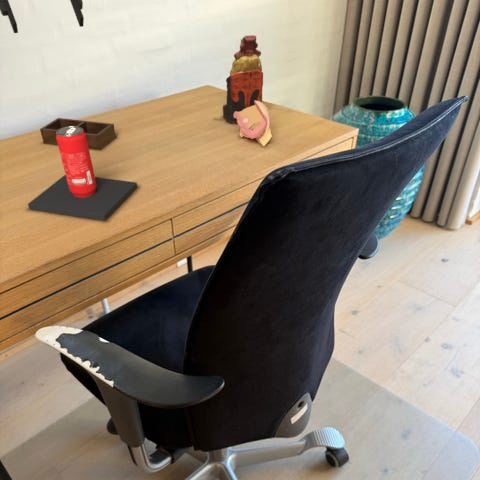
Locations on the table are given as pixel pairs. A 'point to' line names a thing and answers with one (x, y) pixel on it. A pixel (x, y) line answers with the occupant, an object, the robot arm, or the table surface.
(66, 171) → the beverage can
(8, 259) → the table surface
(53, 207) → the mat
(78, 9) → the robot arm
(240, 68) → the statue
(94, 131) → the divided desk organizer tray
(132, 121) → the table surface
